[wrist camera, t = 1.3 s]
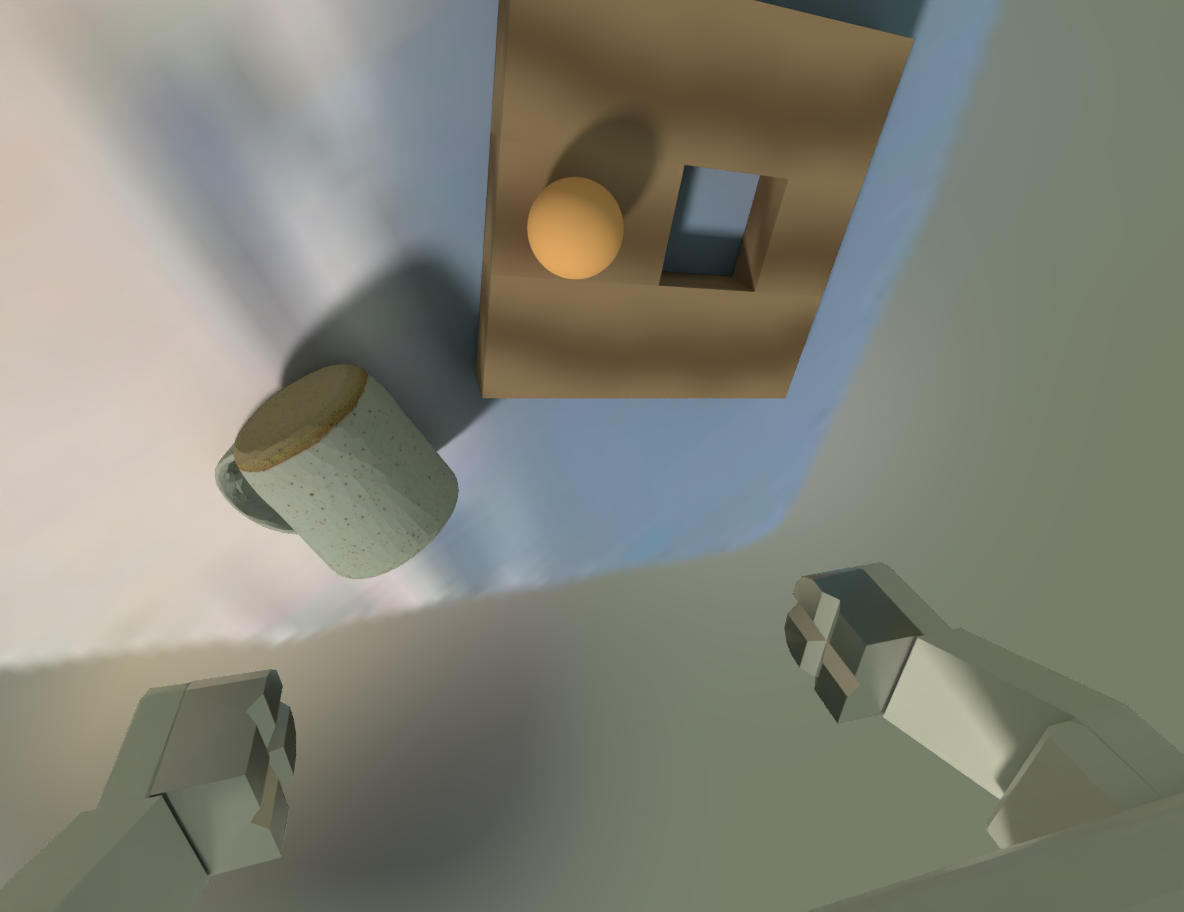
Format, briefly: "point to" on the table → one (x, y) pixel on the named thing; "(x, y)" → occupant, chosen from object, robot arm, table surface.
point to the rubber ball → (575, 228)
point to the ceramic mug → (340, 473)
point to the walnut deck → (672, 188)
